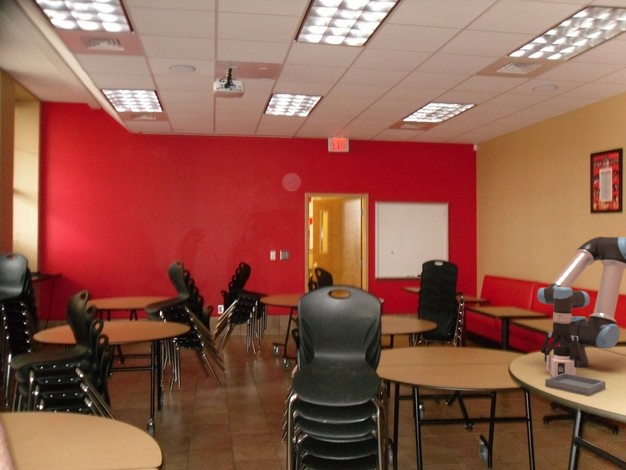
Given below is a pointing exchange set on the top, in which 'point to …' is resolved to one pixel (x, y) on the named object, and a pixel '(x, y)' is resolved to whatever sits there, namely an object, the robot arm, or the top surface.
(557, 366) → the container
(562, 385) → the tray
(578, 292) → the robot arm
